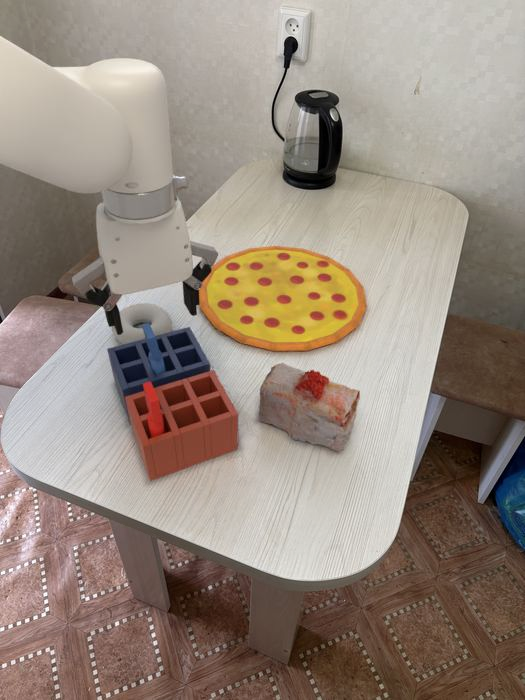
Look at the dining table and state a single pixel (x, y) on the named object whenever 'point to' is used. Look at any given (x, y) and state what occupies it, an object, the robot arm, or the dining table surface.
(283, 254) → the pizza
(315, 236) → the dining table surface
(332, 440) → the food item
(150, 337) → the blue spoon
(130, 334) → the donut
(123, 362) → the blue caddy
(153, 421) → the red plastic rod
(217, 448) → the red caddy
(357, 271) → the dining table surface
